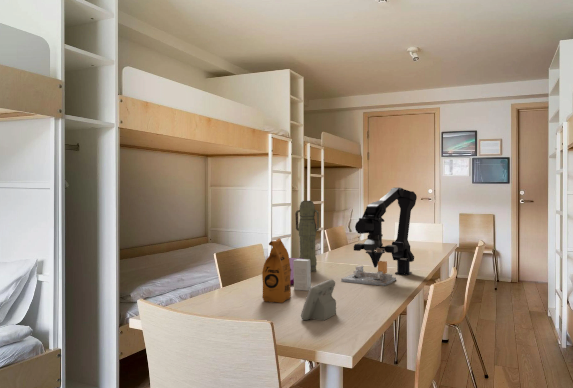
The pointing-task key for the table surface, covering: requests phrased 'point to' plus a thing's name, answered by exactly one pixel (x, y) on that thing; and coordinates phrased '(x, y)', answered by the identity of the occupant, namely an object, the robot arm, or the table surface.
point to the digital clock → (320, 302)
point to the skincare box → (302, 274)
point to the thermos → (307, 231)
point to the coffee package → (276, 274)
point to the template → (368, 277)
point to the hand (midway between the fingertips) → (375, 267)
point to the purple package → (292, 269)
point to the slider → (381, 268)
